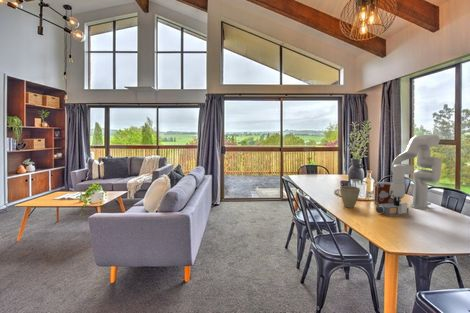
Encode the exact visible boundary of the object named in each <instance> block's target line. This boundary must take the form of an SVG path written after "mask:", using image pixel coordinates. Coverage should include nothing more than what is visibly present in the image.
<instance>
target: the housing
mask: <svg viewBox="0 0 470 313" xmlns="http://www.w3.org/2000/svg"><path fill="white" fill-rule="evenodd" d="M375 211H376V213H378V214H381V215H384V216H389V217H396V216H405V215H406V216H407V215H409V207H407V213H403V214H398V206H395V205H394V203H387V204H377V205H376V207H375Z"/></svg>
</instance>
